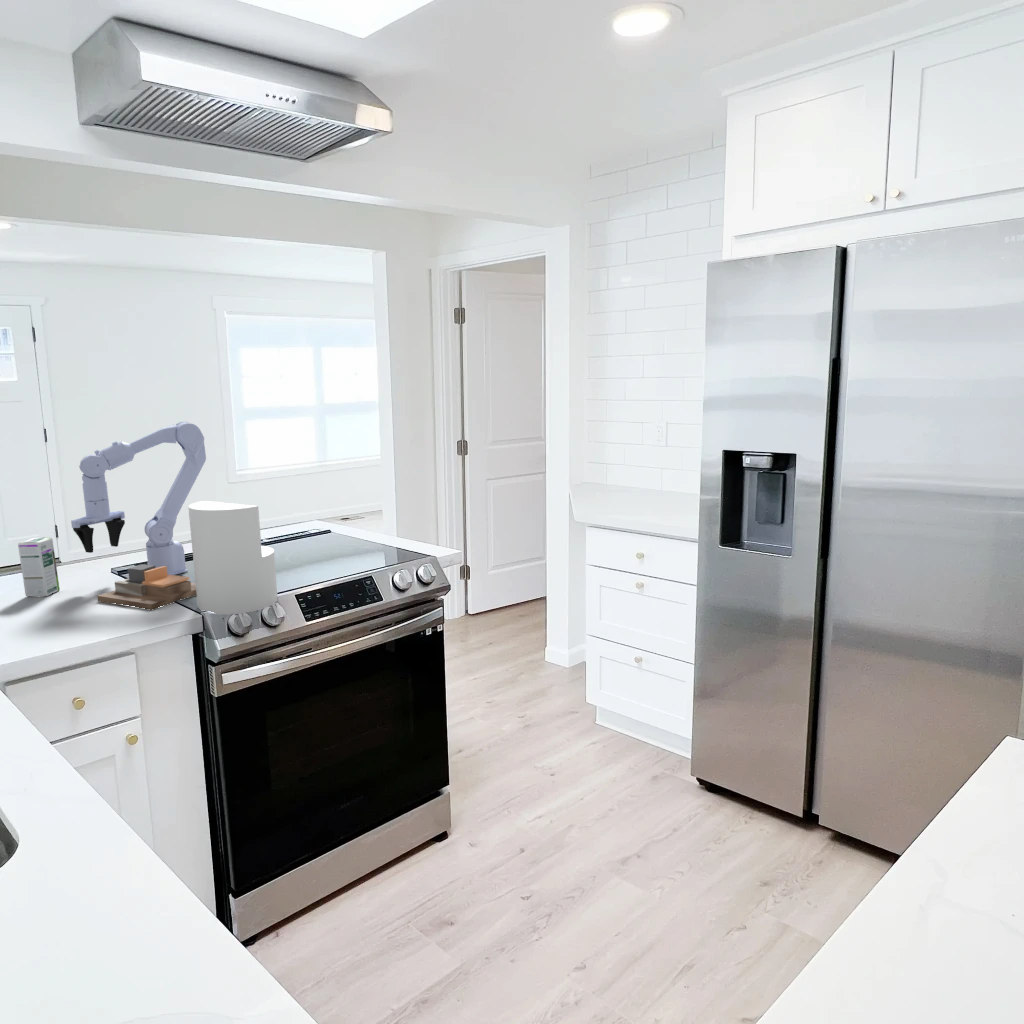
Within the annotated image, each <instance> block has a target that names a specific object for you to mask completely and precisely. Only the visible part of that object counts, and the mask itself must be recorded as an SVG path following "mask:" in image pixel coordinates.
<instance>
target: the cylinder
mask: <svg viewBox="0 0 1024 1024" xmlns="http://www.w3.org/2000/svg"><path fill="white" fill-rule="evenodd" d="M187 509H188V516H189V517H188V518H189V529H190V539H191V540H190V541H191V549H192V551H191V552H192V558H193V559H192V560H193V561H192V562H193V569H194V570H193V571H194V581H195V582H194V583H196V594H197V595H196V602H197V609H198V608H199V609H201V610H206V611H211V612H214V613H216V614H215V615H237V614H246V613H251V612H256V611H260V610H263V609H265V608H269V607H271V606H273V605H274V604H276V603H277V602H278V600H277V597H278V584H277V583H278V582H277V574H276V573H277V572H276V571H277V570H276V560H275V559H276V558H275V549H274V548H272V547H270V546H267V545H262V539H261V526H260V512H259V511H260V510H259V505H252V504H242V503H241V504H240V503H230V502H221V501H211V500H200V501H197V502H193V503H191V504H189V505H188V508H187ZM199 609H198V610H199Z"/></svg>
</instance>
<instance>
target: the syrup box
mask: <svg viewBox="0 0 1024 1024" xmlns="http://www.w3.org/2000/svg"><path fill="white" fill-rule="evenodd" d="M17 547H18V555H19V562H20V567H21V574H22V575H21V576H22V579H23V581H22V582H23V587H24V595H25V597H26V596H47V597H49V596H51V595H53V594H54V593H57V592H59V591H60V583H59V575H58V569H57V567H58V566H57V563H56V562H57V561H56V554H55V548H54V540H53V537H34V538H33V537H31V538H29V539H28V540H24V541H22V542H18V543H17ZM52 593H53V594H52Z"/></svg>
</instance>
